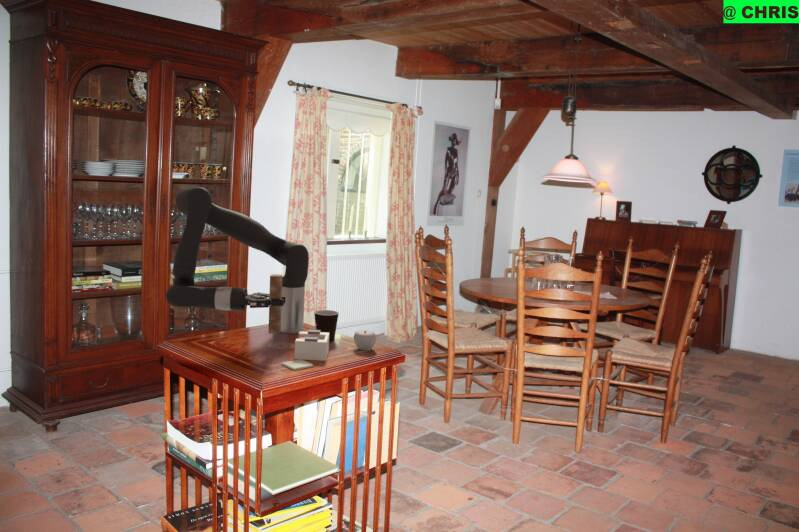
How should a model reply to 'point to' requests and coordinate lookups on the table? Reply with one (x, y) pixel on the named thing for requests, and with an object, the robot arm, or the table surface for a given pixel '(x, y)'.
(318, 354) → the box
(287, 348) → the table surface
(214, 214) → the robot arm
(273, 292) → the walnut stick
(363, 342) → the lidded sugar bowl
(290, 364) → the coaster
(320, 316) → the coffee mug
